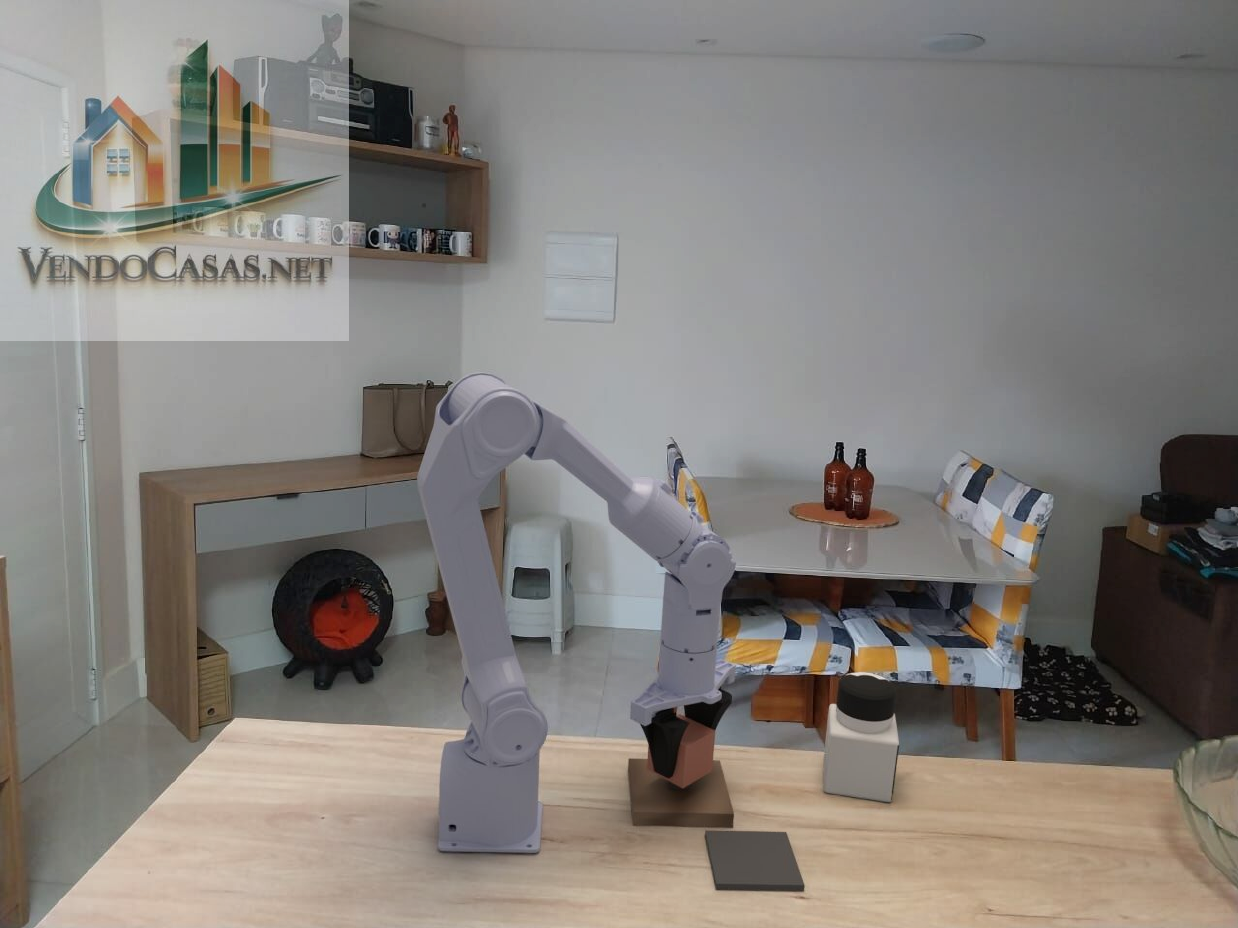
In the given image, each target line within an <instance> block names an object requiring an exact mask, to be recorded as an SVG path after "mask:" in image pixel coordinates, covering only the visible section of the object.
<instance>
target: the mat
mask: <svg viewBox="0 0 1238 928" xmlns="http://www.w3.org/2000/svg"><path fill="white" fill-rule="evenodd" d="M704 839H705V844H706V849H707V852H708V858H709V863H710V867H711V872H712V877H713V883H714V886H715V887H714V888H715V890H717V891H718V890H721V891H723V890H724V891H725V890H727V891H729V890H730V891H731V890H732V891H733V890H734V891H776V892H777V891H779V892H780V891H785V892H787V891H788V892H804V891H805V883H804V880H803V877H802V873H801V871H800V868H799V864H798V861H797V859H796V857H795V854H794V850H793V848H792V845H791V842H790V839H789V836H788V833H787V831H766V830H765V831H763V830H761V831H755V830H753V831H752V830H751V831H750V830H717V829H716V830H710V829H709V830H708V829H707V830H705V831H704Z"/></svg>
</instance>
